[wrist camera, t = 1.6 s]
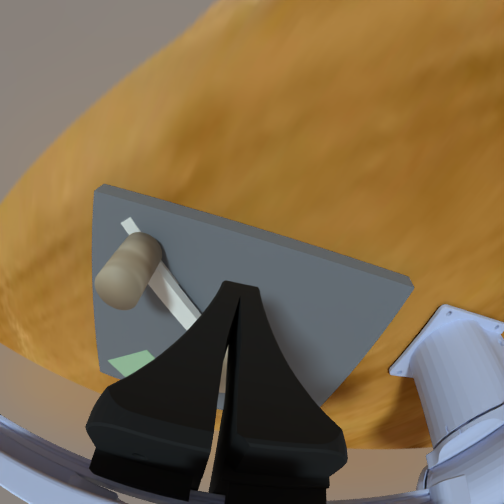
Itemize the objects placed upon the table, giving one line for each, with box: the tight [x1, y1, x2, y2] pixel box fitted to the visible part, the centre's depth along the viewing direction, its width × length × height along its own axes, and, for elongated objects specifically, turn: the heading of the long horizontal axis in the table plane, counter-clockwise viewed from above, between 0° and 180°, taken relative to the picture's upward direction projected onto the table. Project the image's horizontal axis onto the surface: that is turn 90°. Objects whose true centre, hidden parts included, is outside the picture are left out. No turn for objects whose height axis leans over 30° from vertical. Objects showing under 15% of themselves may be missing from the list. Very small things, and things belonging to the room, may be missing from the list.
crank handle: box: [95, 232, 228, 393], centre depth 18 cm, size 13×5×4 cm, turn 28°
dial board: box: [92, 184, 414, 410], centre depth 22 cm, size 20×18×1 cm
